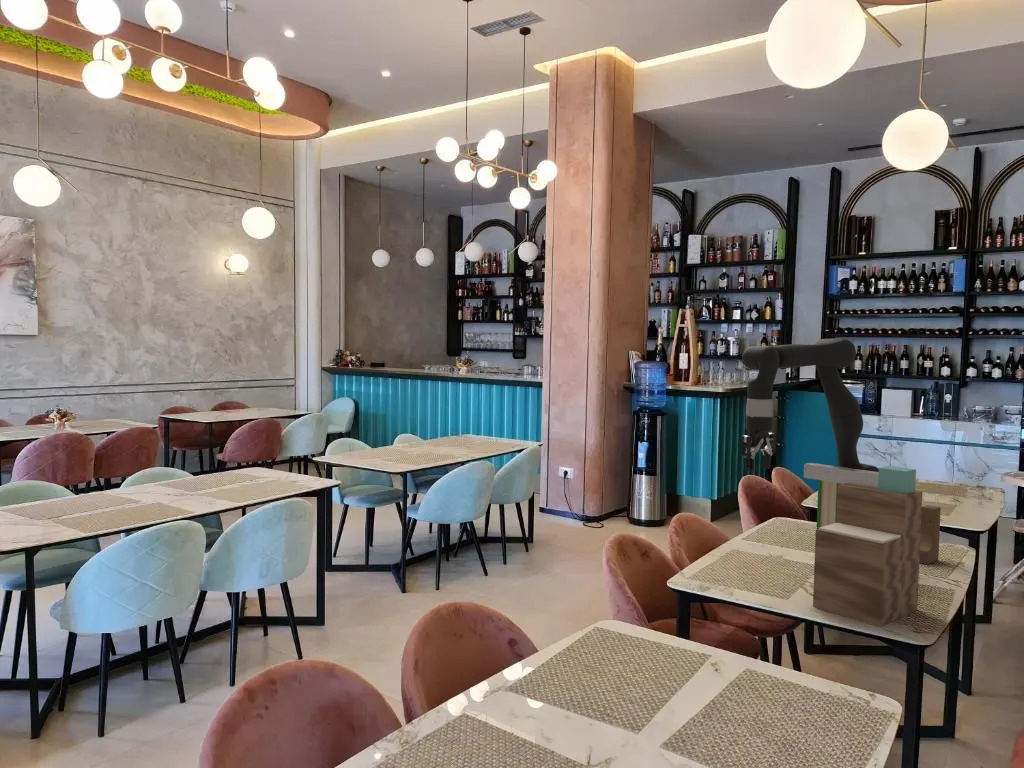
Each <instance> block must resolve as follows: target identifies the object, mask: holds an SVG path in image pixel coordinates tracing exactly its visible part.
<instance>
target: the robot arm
mask: <svg viewBox="0 0 1024 768" xmlns="http://www.w3.org/2000/svg"><path fill="white" fill-rule="evenodd" d="M856 356H857V350H856V346H855V344H854V343H853V342H852V341H851V340H849V339H846V338H840V337H839V338H837V337H836V338H835V337H834V338H822V339H818V340H817V341H816V342H815V344H800V343H799V344H798V343H797V344H794V343H793V344H779V345H772V346H770V345H753V346H749V347H747V348H746V349H745V350H744V351H743V353H742V355H741V357H742V358H741V360H742V361H741V362H742V364H743V365H744V367H746V368H747V369H748V370H751V371H758V372H757V376H756V377H755V378H751V379H750V380H748V382H747V389H746V390H747V395H746V397H747V398H746V406H745V430H747V431H748V435H742V436H741V441H740V442H741V443H740V444H741V445H740V456H741V457H744V458H745V471H746V472H754V471H755V469H754V468H755V456H756V454H757V453H758V452H759V451H761V453H762V468H763V469H768V470H769V469H771V465H772V464H771V462H772V461H771V459H772V456H773V454H776V453H777V449H776V448H777V447H776V446H777V441H776V439H777V438H776V437H777V435H776V433H775V432H772V431H773V430H774V429H773V428H774V403H773V399H774V398H773V396H774V395H773V394H774V391H773V390H774V386H773V385H774V383H775V380H776V377H777V373H778V369H794V368H802V367H811V366H812V367H813V366H815V367H816V370H817V373H818V376H819V378H820V382H821V385H822V386H821V387H822V388H823V392H824V393H823V394H824V396H825V400H826V405H827V408H828V415H829V419H830V423H831V427H832V431H833V436H834V441H835V445H836V446H835V447H836V452H837V459H838V467H845V468H852V469H859V470H866V471H873V472H879V467H877V466H875V465H872V464H867V463H861V461H860V460H859V456H858V452H857V451H858V450H857V449H858V448H857V447H858V441H859V439H860V437H861V434H862V432H863V429H864V428H863V427H864V420H863V414H862V410H861V406H860V403H859V401H858V399H856V396H855V395H854V394H853V393H852V391H850V389H849V388H848V387H847V386H846V384H845V383H844V382H843V380H842V377H841V376H840V374H839V373H840V372H839V370H838V369H844V368H848V367H850V366H851V365H852V364H853V363H854V361H855V360H856Z"/></svg>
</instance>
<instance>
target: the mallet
mask: <svg viewBox="0 0 1024 768" xmlns="http://www.w3.org/2000/svg"><path fill="white" fill-rule="evenodd" d="M878 469H879V472H873V471H866V470H859V469H852V468H845V467H839V465H838V466H835V465H829V464H822V463H815V462H807V463H804V464H803V478H804V479H809V480H811V479H812V480H822V481H829V482H835V483H841V484H848V485H854V486H860V487H867V488H873V489H878V490H881V491H887V492H894V493H900V494H908V493H912V492H915V491H916V484H917V483H916V479H917V478H916V477H917V469H915V468H908V467H901V466H900V467H899V466H892V465H888V466H880V467H878Z"/></svg>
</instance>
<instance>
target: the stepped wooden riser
mask: <svg viewBox="0 0 1024 768" xmlns="http://www.w3.org/2000/svg"><path fill="white" fill-rule="evenodd" d="M922 506H923V491H921V490H915V492H912V493H908V494H900V493H894V492H887V491H881V490H878V489H873V488H867V487H860V486H854V485H848V484H840V485H838V501H837V523H834V524H830V525H827V526H823V527H819V529H817V528H816V529H815V541H814V545H815V546H814V568H813V571H814V572H813V596H812V597H813V599H812V607H813V608H817V609H820V610H824V611H827V612H830V613H834V614H837V615H839V616H843V617H846V618H849V619H853V620H856V621H859V622H863V623H865V624H866V623H867V624H870V625H872V626H876V627H879V628H881V627H883V626H885V625H888V624H890V623H892V622H894V621H896V620H898V619H900V618H902V617H905V616H907V615H910V614H911V613H913V612H915V611H917V610H918V603H919V602H918V600H919V583H920V581H919V578H920V576H919V575H920V563H919V559H920V536H921V513H922Z"/></svg>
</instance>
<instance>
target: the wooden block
mask: <svg viewBox="0 0 1024 768" xmlns="http://www.w3.org/2000/svg"><path fill="white" fill-rule="evenodd" d="M941 510H942V509H941V507H940V506H937V505H936V506H935V505H929V504H927V505H922V513H921V536H920V559H919V564H921V563H924V564H923V565H926V564H927V565H929V563H930V564H932V563H934V562H937V561H939V555H940V554H939V553H940V535H941V534H940V531H941V530H940V529H941Z"/></svg>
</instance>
